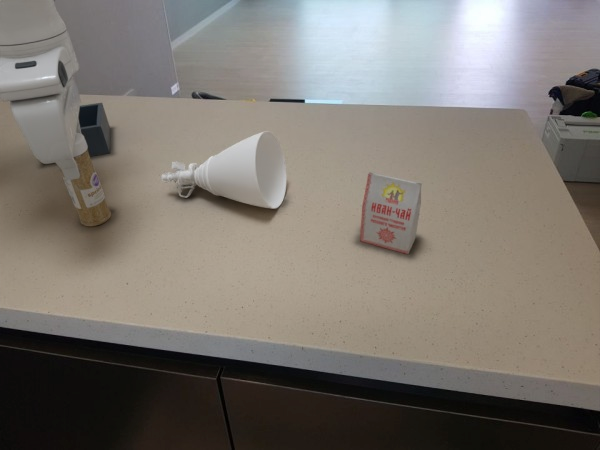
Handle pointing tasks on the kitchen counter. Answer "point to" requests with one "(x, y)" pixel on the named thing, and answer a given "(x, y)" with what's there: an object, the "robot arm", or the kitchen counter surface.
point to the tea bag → (390, 212)
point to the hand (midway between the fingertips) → (76, 160)
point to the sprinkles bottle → (87, 188)
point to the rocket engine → (239, 172)
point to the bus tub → (95, 128)
